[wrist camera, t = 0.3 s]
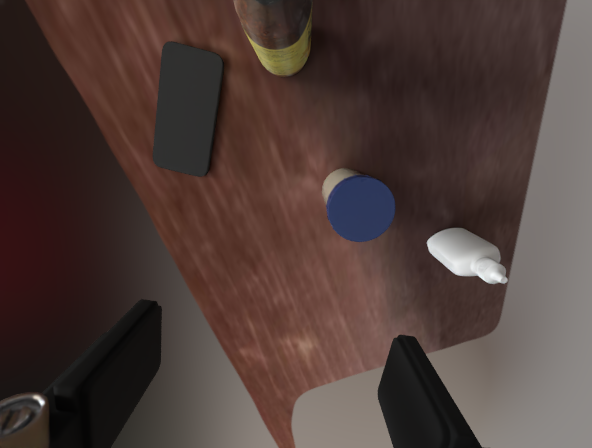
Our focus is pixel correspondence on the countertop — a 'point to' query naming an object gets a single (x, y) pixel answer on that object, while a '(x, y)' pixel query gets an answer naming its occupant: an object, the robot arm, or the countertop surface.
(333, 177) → the mayonnaise jar
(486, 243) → the eye dropper bottle
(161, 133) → the phone
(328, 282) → the countertop surface
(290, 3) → the sauce bottle
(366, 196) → the jar lid
